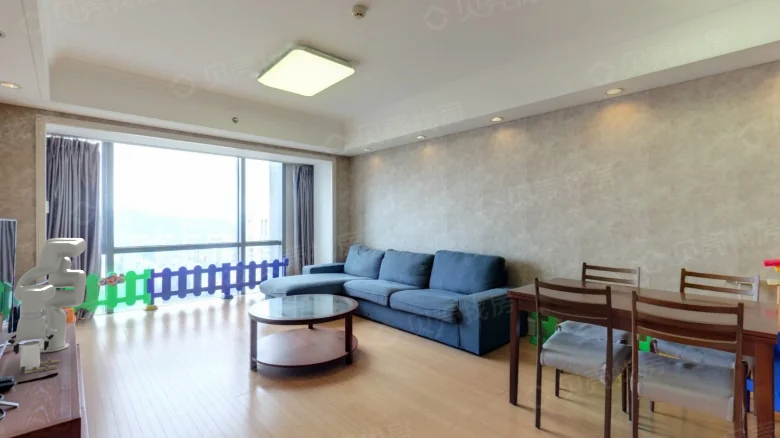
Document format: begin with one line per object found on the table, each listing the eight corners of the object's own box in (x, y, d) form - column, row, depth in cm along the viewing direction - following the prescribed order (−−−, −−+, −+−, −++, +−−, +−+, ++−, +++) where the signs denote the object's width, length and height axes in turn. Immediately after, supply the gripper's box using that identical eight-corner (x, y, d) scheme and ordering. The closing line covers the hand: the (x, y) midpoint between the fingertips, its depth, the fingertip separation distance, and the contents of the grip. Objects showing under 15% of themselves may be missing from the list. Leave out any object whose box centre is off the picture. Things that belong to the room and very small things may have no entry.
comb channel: (25, 367, 172) (25, 360, 172) (59, 362, 179) (59, 356, 179) (20, 374, 164) (20, 367, 164) (56, 368, 171) (56, 362, 171)
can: (27, 372, 166) (28, 346, 166) (16, 370, 167) (17, 344, 167) (43, 366, 172) (44, 341, 172) (32, 365, 173) (33, 340, 174)
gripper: (58, 310, 178) (57, 345, 179) (8, 315, 168) (7, 351, 169) (55, 314, 172) (55, 350, 173) (3, 319, 162) (2, 357, 163)
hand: (31, 350), depth 171 cm, fingers open, 9 cm apart
